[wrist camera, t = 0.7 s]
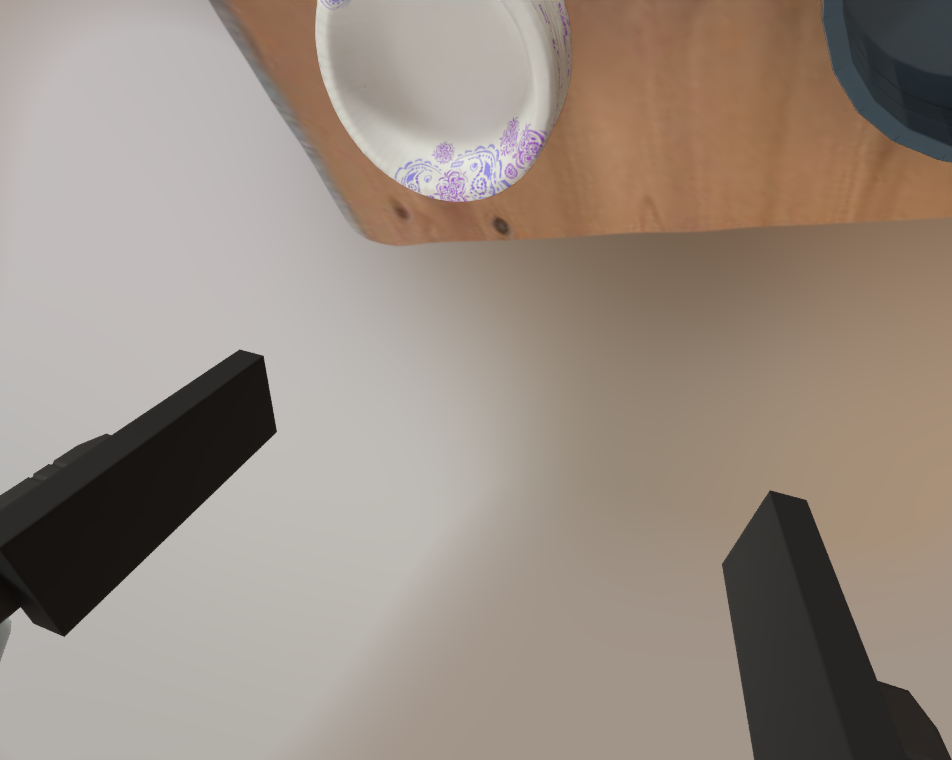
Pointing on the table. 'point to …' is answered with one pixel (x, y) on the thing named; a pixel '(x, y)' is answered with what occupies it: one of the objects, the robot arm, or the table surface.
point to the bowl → (896, 67)
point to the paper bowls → (447, 86)
